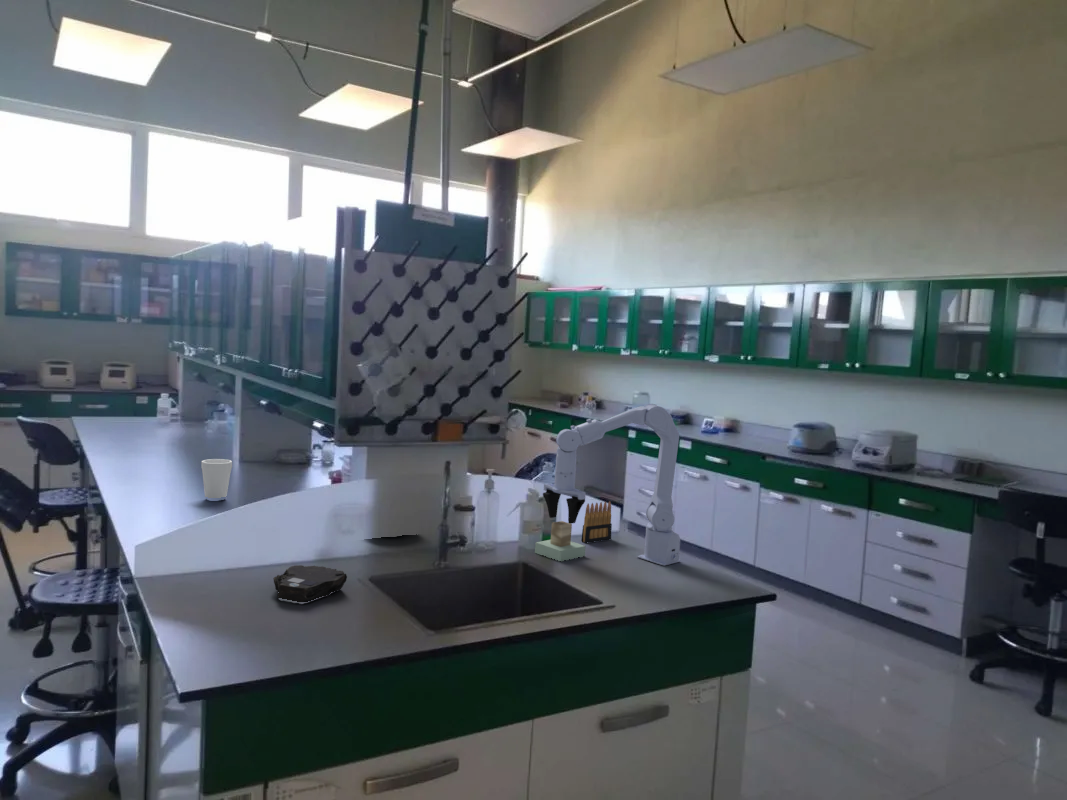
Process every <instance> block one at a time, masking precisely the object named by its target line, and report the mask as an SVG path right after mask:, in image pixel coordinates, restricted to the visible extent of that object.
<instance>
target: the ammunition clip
mask: <svg viewBox="0 0 1067 800" xmlns="http://www.w3.org/2000/svg"><path fill="white" fill-rule="evenodd" d="M583 518H584V520H583V525H582V532H581V534H582V535H581V541H582V543H583V542H584V544H588V543H587V542H592V543H595V542H594V541H599V542H602V541H601V540H606V541H610V540H609V539H611V540H612V531H613V530H612V527H613V526H612V525H613V524H612V504H611V501H610V500H609V501H608V504H607V501H604V503H602V501H600V503H599V504H598V502H595V505H594V503H593V502H592V503H591V504H589V503H586V507H585V514H584V517H583Z"/></svg>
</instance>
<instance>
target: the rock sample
mask: <svg viewBox="0 0 1067 800" xmlns="http://www.w3.org/2000/svg"><path fill="white" fill-rule="evenodd" d="M347 579H348V575H347V573H345V572H344V571H343V570H337V568H331V567H326V566H318V565H307V566H305V565H302V564H300V565H297V564H296V565H292V566H290V567H288V568H286V569H285V571H284V572H283V573H281V575H280V574H277V575H276V576H274V577H273V584H274V588H275V590H276V591H277V599H278V598H282V599H287V600H292V601H297V602H308V601H311V600H314V599H316V598H319V597H322V596H326V595H329V594H330V593H331V592H334V591H337V590H339V591H341V590H342V588H343V587H344V585H345V583H346V581H347ZM340 589H341V590H340ZM278 592H279V593H278ZM337 592H338V591H337Z"/></svg>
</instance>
